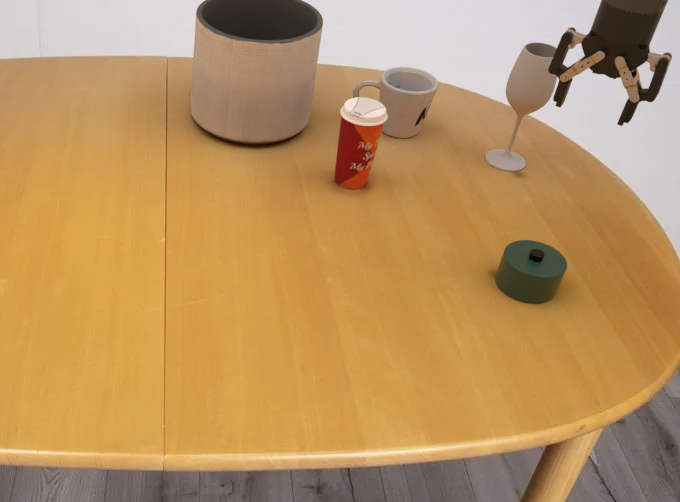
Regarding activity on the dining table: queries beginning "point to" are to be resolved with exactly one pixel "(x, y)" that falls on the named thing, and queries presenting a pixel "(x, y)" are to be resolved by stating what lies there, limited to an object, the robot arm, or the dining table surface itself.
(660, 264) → the dining table surface
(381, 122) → the paper cup
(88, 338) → the dining table surface
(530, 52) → the wineglass
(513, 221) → the dining table surface
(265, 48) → the planter
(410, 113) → the mug
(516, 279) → the tea tin
